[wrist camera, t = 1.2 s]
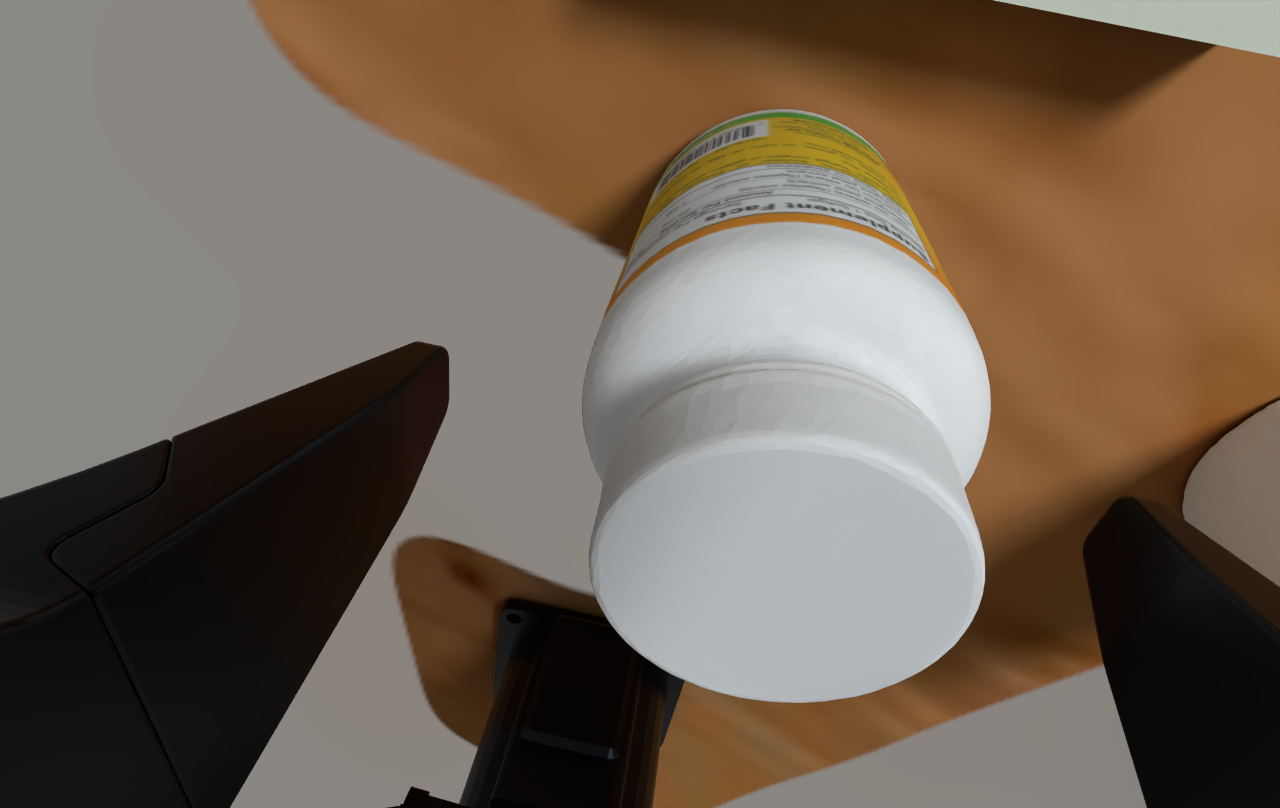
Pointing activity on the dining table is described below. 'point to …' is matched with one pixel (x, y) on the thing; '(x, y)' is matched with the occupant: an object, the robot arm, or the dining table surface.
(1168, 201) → the dining table surface
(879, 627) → the supplement bottle
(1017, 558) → the dining table surface
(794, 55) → the dining table surface
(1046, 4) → the tray
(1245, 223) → the dining table surface
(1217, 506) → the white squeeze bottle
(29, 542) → the robot arm
